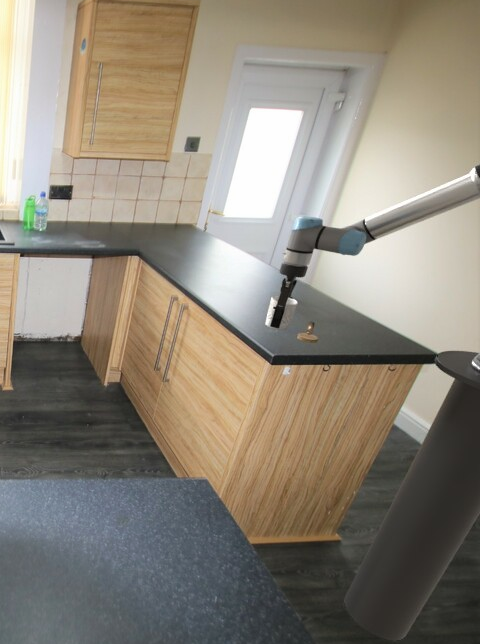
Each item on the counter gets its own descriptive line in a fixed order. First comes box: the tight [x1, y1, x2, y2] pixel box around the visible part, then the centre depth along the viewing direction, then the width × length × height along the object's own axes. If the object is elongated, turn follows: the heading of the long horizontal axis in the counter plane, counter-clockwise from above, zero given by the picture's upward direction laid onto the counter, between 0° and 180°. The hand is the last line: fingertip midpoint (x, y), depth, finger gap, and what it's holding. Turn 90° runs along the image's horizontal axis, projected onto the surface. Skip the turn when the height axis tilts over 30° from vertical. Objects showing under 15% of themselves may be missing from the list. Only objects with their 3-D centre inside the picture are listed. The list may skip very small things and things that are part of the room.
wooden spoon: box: [296, 321, 319, 344], centre depth 163 cm, size 19×6×2 cm, turn 142°
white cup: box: [264, 295, 299, 331], centre depth 166 cm, size 8×8×10 cm
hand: (277, 321), depth 167 cm, fingers open, 13 cm apart
